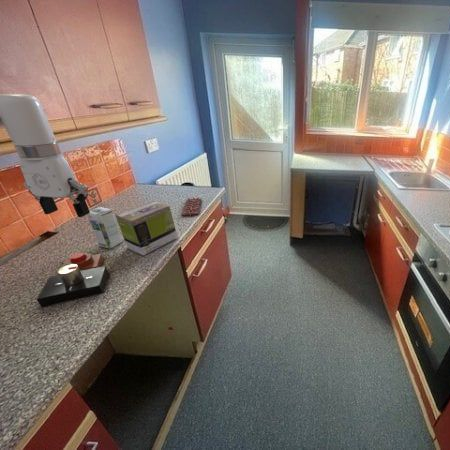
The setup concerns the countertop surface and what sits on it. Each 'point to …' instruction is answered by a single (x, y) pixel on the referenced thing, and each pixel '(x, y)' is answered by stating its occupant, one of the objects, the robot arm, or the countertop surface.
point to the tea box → (147, 227)
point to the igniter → (86, 262)
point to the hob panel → (73, 287)
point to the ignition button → (77, 257)
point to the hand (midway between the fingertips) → (68, 213)
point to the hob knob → (70, 274)
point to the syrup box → (105, 227)
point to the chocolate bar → (192, 207)
